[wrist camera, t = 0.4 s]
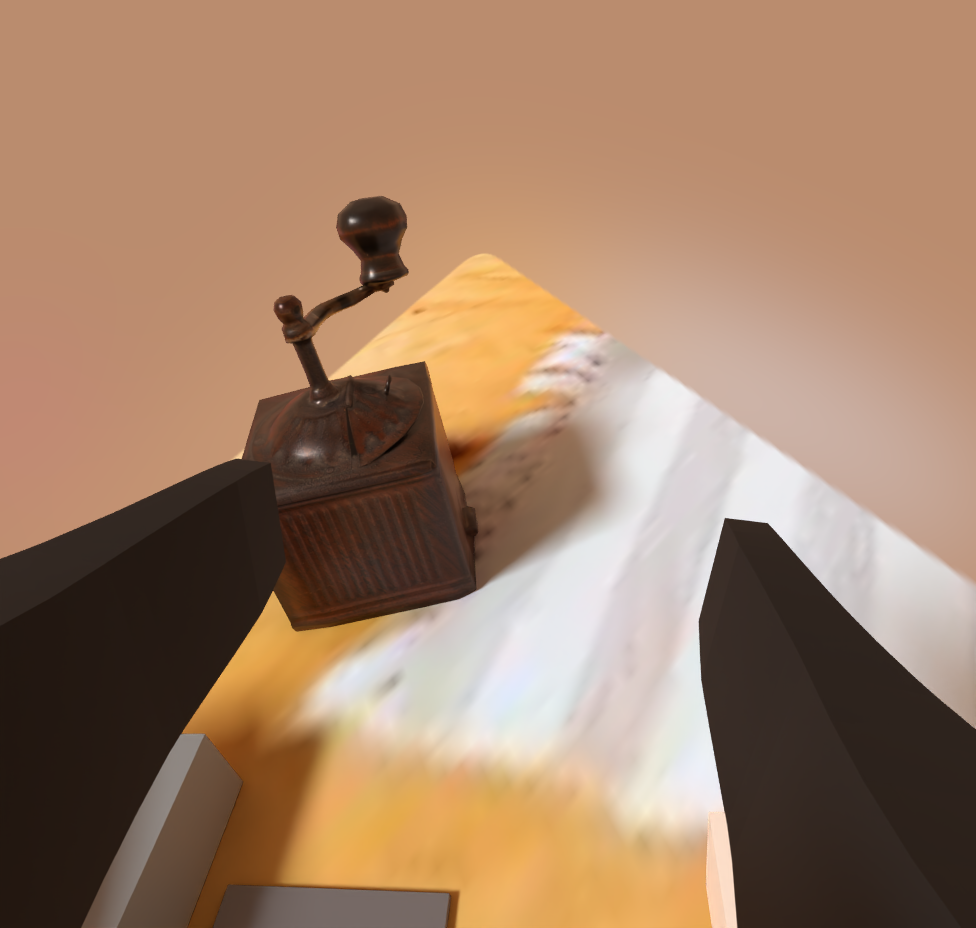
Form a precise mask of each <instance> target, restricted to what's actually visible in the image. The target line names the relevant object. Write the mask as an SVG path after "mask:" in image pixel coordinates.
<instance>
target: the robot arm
mask: <svg viewBox="0 0 976 928" xmlns="http://www.w3.org/2000/svg"><path fill="white" fill-rule="evenodd" d="M285 563H286V558H285V552H284V545H283V539H282V532H281V526H280V519H279V513H278V507H277V500H276V494H275V487H274V481H273V474H272V468H271V463H268V462H259V461H251V460H243V459H234V460H231V461H228V462H225V463H223V464H220V465H217V466H215V467H213V468H210V469H208V470H206V471H203V472H201V473H199V474H197V475H194V476H192V477H190V478H188V479H186V480H183V481H181V482H179V483H177V484H175V485H173V486H171V487H168V488H166V489H164V490H162V491H160V492H157V493H155V494H153V495H151V496H149V497H147V498H144V499H142V500H140V501H138V502H136V503H134V504H132V505H129V506H127V507H125V508H123V509H121V510H119V511H116V512H114V513H112V514H110V515H107V516H105V517H103V518H100V519H98V520H95V521H93V522H91V523H88V524H86V525H84V526H81V527H79V528H77V529H74V530H72V531H70V532H67V533H65V534H63V535H60V536H58V537H55V538H53V539H51V540H48V541H46V542H44V543H41V544H39V545H36V546H34V547H31V548H28V549H26V550H23V551H20V552H18V553H15V554H13V555H10V556H7V557H4V558H1V559H0V928H81V927H82V925H83V923H84V921H85V919H86V917H87V914H88V912H89V910H90V908H91V906H92V904H93V901H94V899H95V897H96V895H97V893H98V891H99V889H100V886H101V884H102V882H103V880H104V878H105V876H106V874H107V872H108V870H109V868H110V866H111V864H112V862H113V860H114V858H115V856H116V854H117V852H118V850H119V848H120V846H121V844H122V842H123V840H124V838H125V836H126V834H127V832H128V830H129V828H130V826H131V824H132V822H133V820H134V818H135V816H136V814H137V812H138V810H139V808H140V807H141V805H142V803H143V801H144V799H145V797H146V795H147V794H148V792H149V790H150V788H151V786H152V784H153V782H154V781H155V779H156V777H157V775H158V773H159V771H160V769H161V768H162V766H163V764H164V762H165V760H166V758H167V756H168V755H169V753H170V751H171V750H172V748H173V746H174V745H175V743H176V741H177V740H178V738H179V737H180V735H181V733H182V732H183V730H184V728H185V727H186V725H187V724H188V722H189V721H190V719H191V718H192V716H193V715H194V714H195V712H196V711H197V709H198V708H199V706H200V705H201V703H202V702H203V700H204V699H205V697H206V696H207V694H208V693H209V691H210V690H211V688H212V687H213V685H214V684H215V682H216V681H217V679H218V678H219V677H220V675H221V674H222V672H223V671H224V669H225V668H226V666H227V665H228V663H229V662H230V660H231V659H232V657H233V656H234V654H235V653H236V651H237V650H238V648H239V647H240V645H241V644H242V642H243V641H244V639H245V638H246V636H247V635H248V633H249V632H250V630H251V629H252V627H253V626H254V624H255V623H256V621H257V619H258V618H259V616H260V615H261V613H262V611H263V609H264V607H265V605H266V603H267V601H268V599H269V597H270V595H271V593H272V591H273V589H274V587H275V585H276V583H277V581H278V578H279V576H280V574H281V572H282V570H283V568H284V565H285ZM699 640H700V663H701V681H702V687H703V693H704V699H705V705H706V710H707V716H708V722H709V728H710V733H711V739H712V744H713V750H714V755H715V761H716V767H717V772H718V778H719V783H720V789H721V794H722V800H723V805H724V811H725V817H726V822H727V829H728V836H729V843H730V851H731V858H732V869H733V882H734V894H735V907H736V919H737V928H976V729H975V728H973V727H972V726H971V725H970V724H969V723H967V722H966V721H965V720H964V719H963V718H961V717H960V716H959V715H958V714H957V713H955V712H954V711H953V710H952V709H950V708H949V707H948V706H947V705H946V704H944V703H943V702H942V701H941V700H940V699H938V698H937V697H936V696H935V695H934V694H933V693H932V692H931V691H929V690H928V689H927V688H926V687H925V686H924V685H923V684H921V683H920V682H919V681H918V680H917V679H916V678H915V677H914V676H913V675H912V674H911V673H909V672H908V671H907V670H906V669H905V668H904V667H903V666H902V665H901V664H900V663H899V662H898V661H897V660H896V659H895V658H894V657H893V656H892V655H891V654H889V653H888V652H887V651H886V650H885V649H884V648H883V647H882V646H881V645H880V644H879V643H878V642H877V641H876V640H875V639H874V638H873V637H872V636H871V635H870V634H869V633H868V632H867V631H866V630H865V629H864V628H863V627H862V626H861V625H860V624H859V623H858V622H857V621H856V620H855V619H854V618H853V617H852V616H851V615H850V614H849V613H848V612H847V611H846V609H845V608H844V607H843V606H842V605H841V604H840V603H839V602H838V601H837V600H836V599H835V598H834V597H833V596H832V594H831V593H830V592H829V591H828V590H827V589H826V588H825V587H824V586H823V585H822V584H821V582H820V581H819V580H818V579H817V578H816V577H815V576H814V575H813V573H812V572H811V571H810V570H809V569H808V568H807V567H806V566H805V564H804V563H803V562H802V561H801V560H800V559H799V558H798V557H797V555H796V554H795V553H794V552H793V551H792V550H791V549H790V547H789V546H788V545H787V544H786V543H785V542H784V541H783V539H782V538H781V537H780V536H779V535H778V534H777V533H776V532H775V531H774V529H773V528H772V527H771V526H770V525H769V524H768V523H761V522H753V521H745V520H736V519H728V518H725V520H724V524H723V528H722V531H721V535H720V539H719V543H718V547H717V551H716V555H715V559H714V563H713V567H712V571H711V575H710V579H709V583H708V586H707V590H706V594H705V598H704V602H703V606H702V610H701V614H700V618H699Z"/></svg>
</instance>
